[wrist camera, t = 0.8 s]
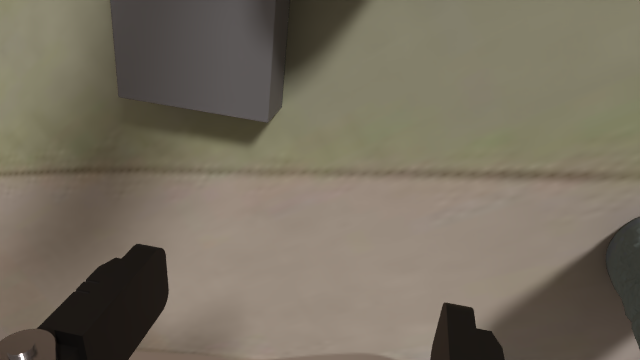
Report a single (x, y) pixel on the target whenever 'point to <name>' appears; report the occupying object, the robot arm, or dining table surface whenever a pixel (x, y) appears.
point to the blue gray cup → (627, 270)
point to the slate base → (203, 54)
